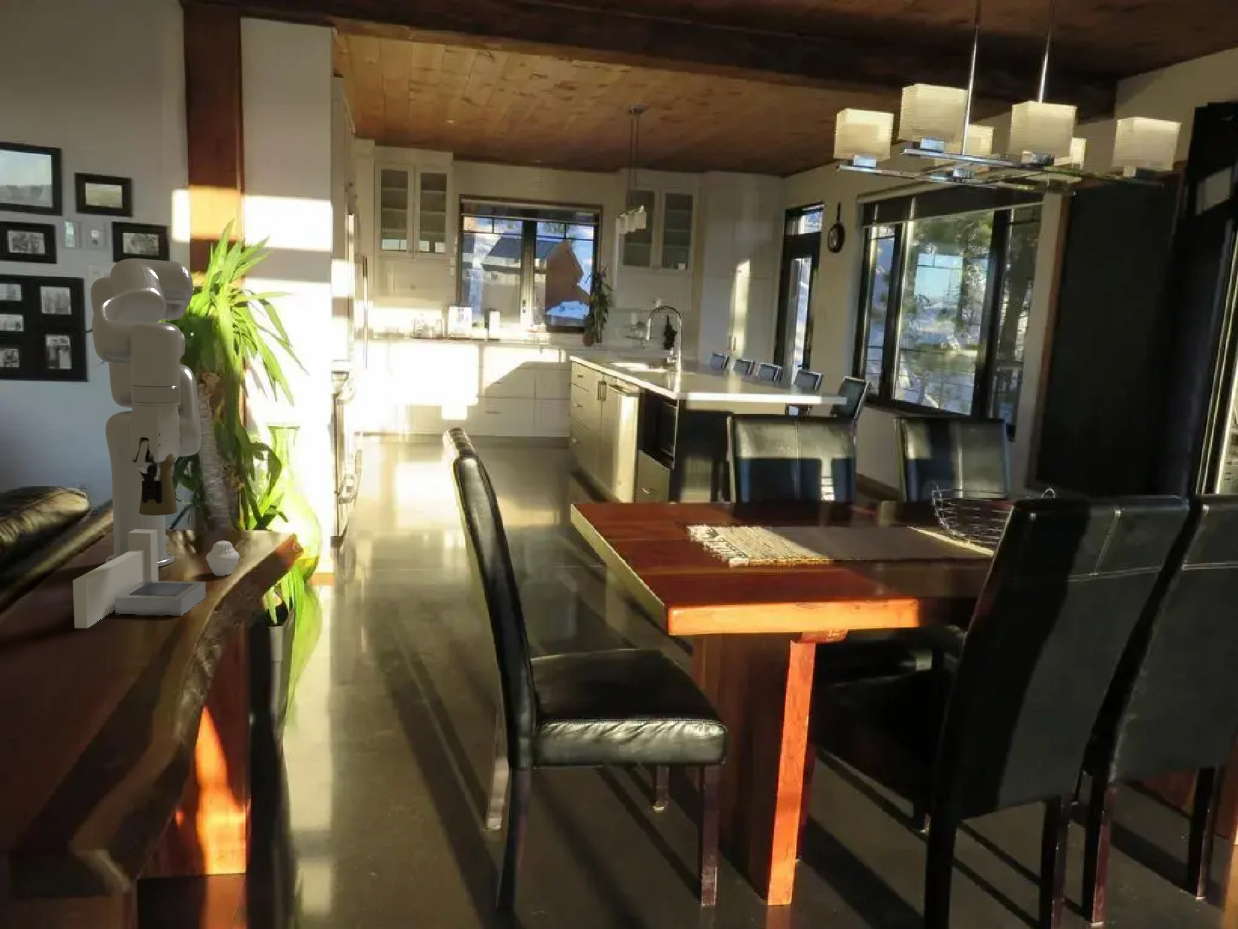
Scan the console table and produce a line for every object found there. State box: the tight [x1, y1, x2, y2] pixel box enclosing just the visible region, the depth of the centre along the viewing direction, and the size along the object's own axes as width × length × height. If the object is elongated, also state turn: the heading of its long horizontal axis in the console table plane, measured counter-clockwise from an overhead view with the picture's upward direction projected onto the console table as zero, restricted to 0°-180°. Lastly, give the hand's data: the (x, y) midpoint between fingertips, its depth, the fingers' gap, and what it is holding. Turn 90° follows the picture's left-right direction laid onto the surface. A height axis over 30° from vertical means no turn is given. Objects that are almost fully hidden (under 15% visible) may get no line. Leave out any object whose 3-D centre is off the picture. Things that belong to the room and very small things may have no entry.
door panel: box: [72, 529, 159, 629], centre depth 159 cm, size 25×4×11 cm, turn 5°
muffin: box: [205, 540, 240, 577], centre depth 183 cm, size 6×6×7 cm
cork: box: [139, 453, 179, 516], centre depth 158 cm, size 6×6×11 cm
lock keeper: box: [114, 580, 206, 617], centre depth 161 cm, size 11×11×3 cm
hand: (158, 499), depth 158 cm, fingers closed on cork, 3 cm apart
